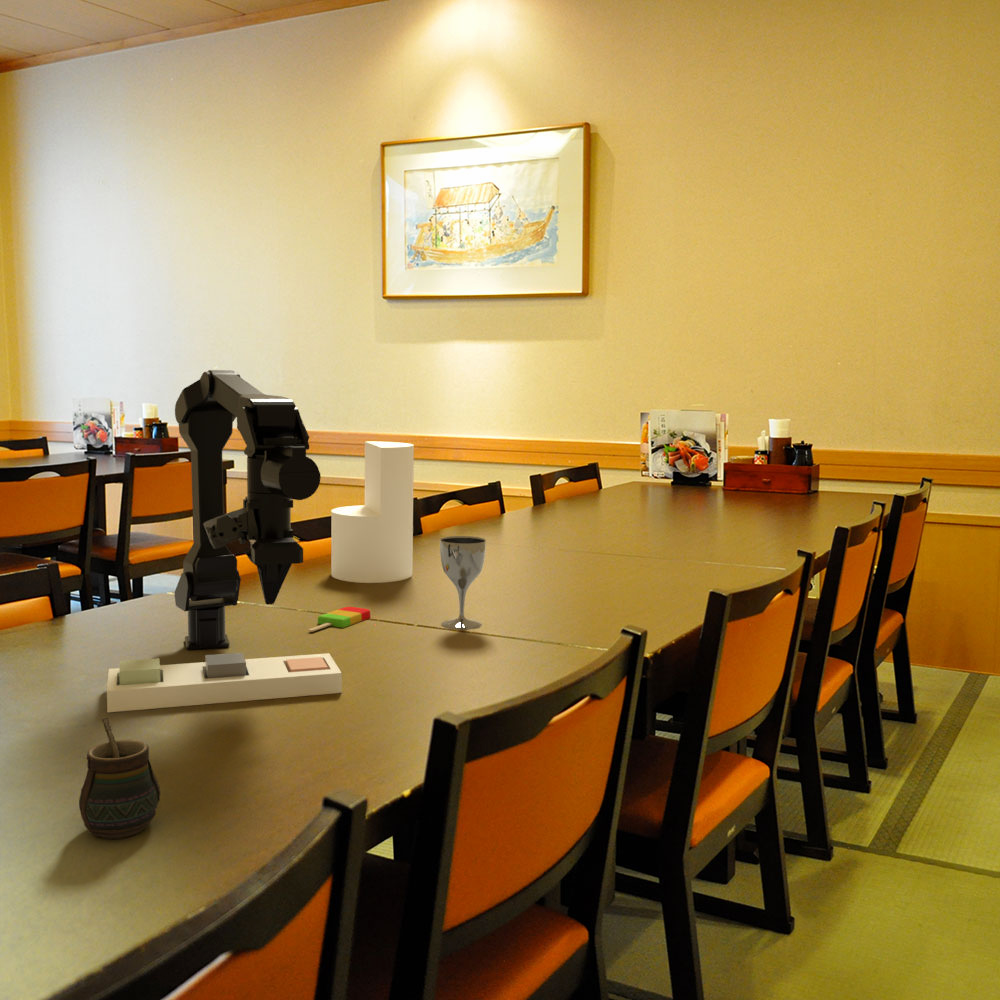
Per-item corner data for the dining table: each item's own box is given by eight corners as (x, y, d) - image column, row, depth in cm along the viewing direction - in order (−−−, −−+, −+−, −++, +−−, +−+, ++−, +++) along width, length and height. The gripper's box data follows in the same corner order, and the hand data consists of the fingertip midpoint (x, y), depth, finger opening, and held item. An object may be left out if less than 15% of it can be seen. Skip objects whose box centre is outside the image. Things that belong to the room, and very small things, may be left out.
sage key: (120, 679, 138) (120, 661, 137) (159, 676, 139) (159, 658, 139) (119, 690, 133) (119, 671, 133) (160, 687, 135) (160, 668, 134)
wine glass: (462, 616, 185) (464, 534, 183) (493, 625, 179) (495, 540, 177) (429, 623, 179) (430, 538, 177) (459, 632, 174) (461, 545, 172)
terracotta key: (286, 676, 145) (286, 659, 145) (321, 674, 147) (321, 657, 147) (291, 687, 141) (291, 669, 140) (327, 684, 142) (327, 666, 142)
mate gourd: (103, 854, 93) (98, 748, 92) (64, 829, 98) (59, 728, 97) (174, 828, 99) (171, 728, 97) (134, 806, 104) (130, 710, 102)
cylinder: (402, 565, 231) (403, 441, 228) (420, 580, 215) (422, 447, 211) (325, 568, 226) (325, 441, 222) (338, 584, 209) (338, 447, 206)
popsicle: (373, 619, 184) (373, 609, 183) (323, 637, 170) (323, 626, 170) (347, 615, 186) (347, 605, 186) (296, 633, 173) (296, 622, 172)
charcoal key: (205, 672, 141) (205, 655, 141) (242, 670, 143) (242, 652, 143) (207, 683, 137) (207, 665, 136) (246, 680, 138) (246, 662, 138)
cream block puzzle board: (109, 688, 140) (109, 668, 140) (329, 671, 150) (329, 653, 149) (107, 712, 131) (106, 691, 130) (341, 692, 140) (341, 672, 140)
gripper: (201, 483, 144) (202, 592, 147) (213, 501, 127) (215, 624, 129) (281, 482, 148) (281, 588, 150) (304, 499, 131) (304, 618, 133)
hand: (269, 603), depth 141 cm, fingers closed
